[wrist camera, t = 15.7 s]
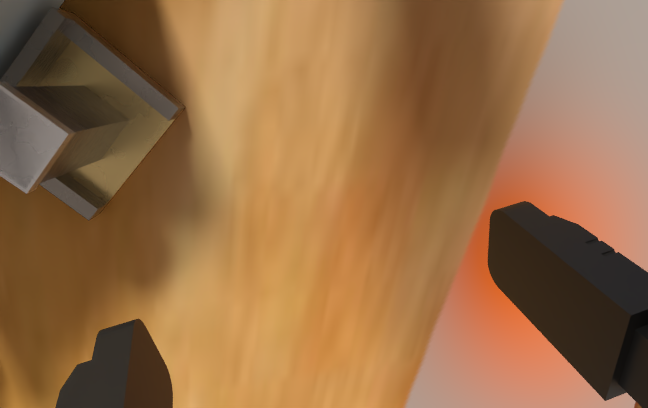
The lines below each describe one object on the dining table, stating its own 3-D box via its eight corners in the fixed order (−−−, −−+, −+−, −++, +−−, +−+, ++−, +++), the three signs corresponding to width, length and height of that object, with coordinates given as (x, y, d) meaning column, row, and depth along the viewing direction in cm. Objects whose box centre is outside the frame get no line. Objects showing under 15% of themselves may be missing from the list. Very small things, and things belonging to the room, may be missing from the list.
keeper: (74, 13, 32) (52, 6, 29) (185, 106, 34) (174, 109, 32) (-11, 131, 34) (-40, 136, 31) (100, 213, 36) (82, 224, 33)
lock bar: (83, 81, 33) (-5, 81, 24) (133, 119, 34) (68, 134, 25) (52, 127, 34) (-46, 144, 24) (101, 163, 35) (26, 193, 25)
